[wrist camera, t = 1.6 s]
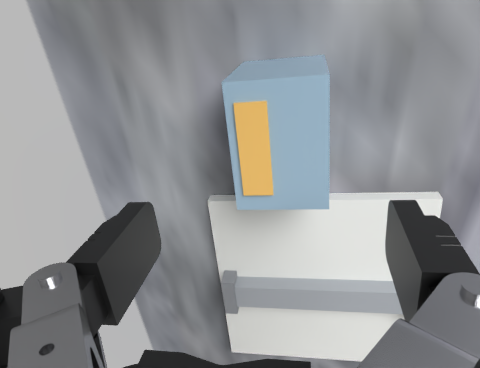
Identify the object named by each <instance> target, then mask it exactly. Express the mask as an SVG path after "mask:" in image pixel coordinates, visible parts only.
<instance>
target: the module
mask: <svg viewBox="0 0 480 368" xmlns="http://www.w3.org/2000/svg"><path fill="white" fill-rule="evenodd" d="M222 90H223V98H224V107H225V115H226V123H227V131H228V139H229V147H230V155H231V163H232V172H233V180H234V188H235V196H236V204H237V210H296V209H329V118H330V74H329V70H328V67H327V63H326V59H325V56H324V55H316V56H305V57H293V58H281V59H270V60H258V61H246V62H243V63H242V64H241V65H239V66H238V67H237V68H236V69H235V70H234V71H233V72H232V73H231V74H230V75H229V76H228V77H227V78H226V79H225V80H224V81H223V82H222Z"/></svg>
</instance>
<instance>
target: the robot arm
mask: <svg viewBox="0 0 480 368" xmlns="http://www.w3.org/2000/svg"><path fill="white" fill-rule="evenodd" d="M160 251H161V238H160V233H159V229H158V225H157V220H156V216H155V212H154V208H153V205H152V204H151V203H150V202H129V203H128V204H127V205H126V206H125V207H124V208H123V209H122V210H121V211H120V212H119V213H118V214H117V216H114V217H112V218H111V219H109V220H107V221H106V222H104V223H103V224H102V225H101V226H100V227H99V228H98V229H97V230H96V231H95V233H94V234H92V235H91V236H90V237H89V238H88V241H86V242H85V243H84V244H83V245H82V246H81V247H80V248H79V249H78V250H77V251H76V252H75V253H74V255H72V257H71V258H70V259H69V260H68V261H67V262H66V263H56V264H52V265H49V266H46V267H44V268H42V269H40V270H38V271H36V272H35V273H33V274H32V275H31V276H30V277H29V278H28V279H27V280H26V281H25V283H24V285H23V286H19V287H13V288H9V289H3V290H1V289H0V368H107V364H106V360H105V355H104V352H103V346H102V341H101V337H100V334H99V332H98V329H99V328H100V327H101V325H118V324H119V322H120V320H121V319H122V317H123V315H124V314H125V312H126V310H127V309H128V307H129V305H130V304H131V302H132V300H133V299H134V297H135V295H136V294H137V292H138V290H139V289H140V287H141V285H142V284H143V282H144V280H145V278H146V277H147V275H148V273H149V272H150V270H151V268H152V267H153V265H154V263H155V262H156V260H157V258H158V257H159V254H160ZM385 252H386V259H387V263H388V267H389V270H390V273H391V276H392V280H393V283H394V286H395V290H396V293H397V296H398V299H399V303H400V306H401V309H402V313H403V316H404V319H405V320H404V319H401V318H400V319H398V320H396V321H395V322H394V323H393V324H392V326H391V327H390V328H389V329H388V330H387V332H386V333H385V334H384V335H383V337H382V338H381V339H380V340H379V341H378V343H377V344H376V345H375V346H374V347H373V349H372V350H371V351H370V352H369V354H368V355H367V356H366V357H365V358H364V360H363V361H362V362H361V363H360V364H359V366H358V367H357V368H480V274H479V272H478V271H477V269H476V267H475V266H474V264H473V263H472V261H471V260H470V258H469V256H468V255H467V253H466V252H465V250H464V248H463V247H462V246H461V244H460V242H459V241H458V239H457V237H455V234H454V233H453V231H452V230H451V228H450V226H449V225H448V224H447V223H445V222H444V221H442V220H441V219H440V218H438V217H437V216H435V215H424V214H423V212H422V210H421V208H420V206H419V204H418V203H417V201H416V200H390V201H389V204H388V213H387V226H386V239H385ZM124 368H311V362H304V361H290V360H277V359H262V360H256V361H249V362H243V363H236V364H230V365H218V364H215V363H212V362H209V361H206V360H203V359H200V358H197V357H194V356H191V355H188V354H185V353H181V352H167V351H154V350H145V351H144V353H143V355H142V357H141V359H140V361H139V363H138V364H134V365H130V366H126V367H124Z"/></svg>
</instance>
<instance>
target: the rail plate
mask: <svg viewBox="0 0 480 368" xmlns="http://www.w3.org/2000/svg"><path fill="white" fill-rule="evenodd" d="M390 200H416V201H417V203H418V204H419V206H420V208H421V210H422V212H423V214H424V215H435V216H437V217H438V218H440V213H441V207H442V200H443V198H442V197H441V196H440V194H439V193H438V192H388V193H329V209H296V210H237V204H236V196H235V195H210V197H209V199H208V208H209V214H210V220H211V226H212V232H213V239H214V245H215V251H216V257H217V263H218V269H219V276H220V282H221V288H222V294H223V300H224V307H225V313H226V319H227V325H228V331H229V337H230V344H231V350H232V352H237V353H251V354H265V355H279V356H293V357H307V358H321V359H335V360H349V361H363V360H364V358H365V357H366V356H367V355H368V354H369V352H370V351H371V350H372V349H373V347H374V346H375V345H376V344H377V343H378V341H379V340H380V339H381V338H382V337H383V335H384V334H385V333H386V332H387V330H388V329H389V328H390V327H391V326H392V324H393V323H394V322H395V321H396V320H398V319H400V318H401V319H404V316H403V313H402V309H401V306H400V303H399V299H398V296H397V293H396V290H395V286H394V283H393V280H392V276H391V273H390V270H389V267H388V263H387V259H386V252H385V239H386V226H387V213H388V204H389V201H390ZM404 320H405V319H404Z"/></svg>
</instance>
